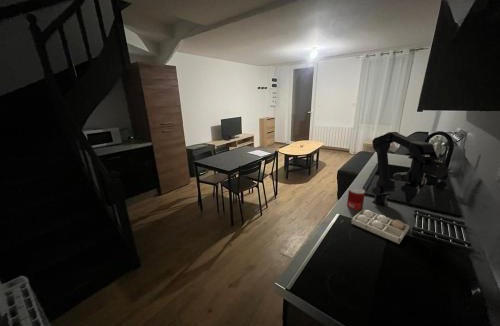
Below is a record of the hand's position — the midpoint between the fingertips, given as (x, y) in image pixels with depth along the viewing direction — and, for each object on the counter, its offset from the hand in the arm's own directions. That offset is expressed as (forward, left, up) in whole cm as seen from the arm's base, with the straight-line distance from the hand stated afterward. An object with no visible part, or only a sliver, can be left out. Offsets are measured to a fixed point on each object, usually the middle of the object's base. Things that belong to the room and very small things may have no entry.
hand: (410, 199), depth 100 cm
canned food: (+5, -23, -12) cm, 27 cm away
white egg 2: (+12, -14, -12) cm, 22 cm away
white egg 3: (+19, -7, -12) cm, 23 cm away
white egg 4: (+12, -7, -12) cm, 18 cm away
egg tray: (+15, -7, -12) cm, 21 cm away
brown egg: (+12, -1, -12) cm, 17 cm away
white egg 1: (+19, -14, -12) cm, 26 cm away
